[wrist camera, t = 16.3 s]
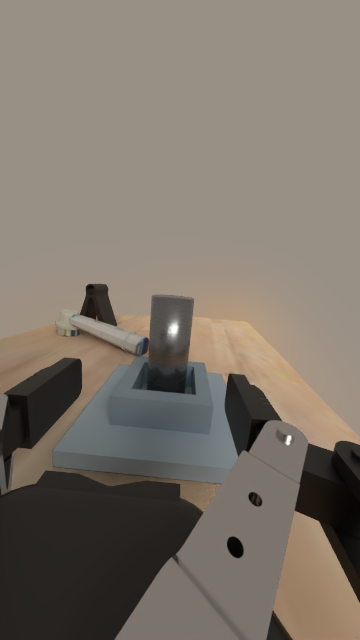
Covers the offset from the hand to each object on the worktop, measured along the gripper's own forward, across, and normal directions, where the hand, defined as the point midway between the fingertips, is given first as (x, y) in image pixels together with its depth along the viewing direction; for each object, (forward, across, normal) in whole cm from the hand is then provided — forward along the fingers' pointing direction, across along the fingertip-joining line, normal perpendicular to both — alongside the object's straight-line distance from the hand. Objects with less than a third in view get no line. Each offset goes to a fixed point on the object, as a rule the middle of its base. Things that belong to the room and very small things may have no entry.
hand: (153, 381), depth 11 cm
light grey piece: (+32, +17, +10) cm, 38 cm away
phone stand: (+45, +23, +10) cm, 52 cm away
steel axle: (+11, 0, +8) cm, 14 cm away
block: (+11, 0, +10) cm, 15 cm away
